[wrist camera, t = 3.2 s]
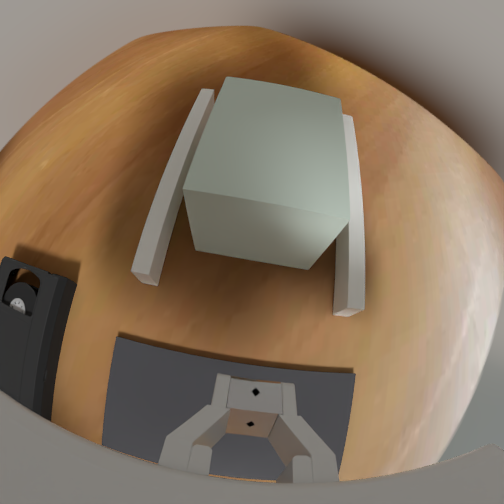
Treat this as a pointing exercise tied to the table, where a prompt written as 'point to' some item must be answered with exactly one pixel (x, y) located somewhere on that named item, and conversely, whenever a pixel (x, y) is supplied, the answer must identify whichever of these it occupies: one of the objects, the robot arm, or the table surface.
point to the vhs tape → (32, 335)
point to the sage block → (269, 175)
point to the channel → (206, 369)
